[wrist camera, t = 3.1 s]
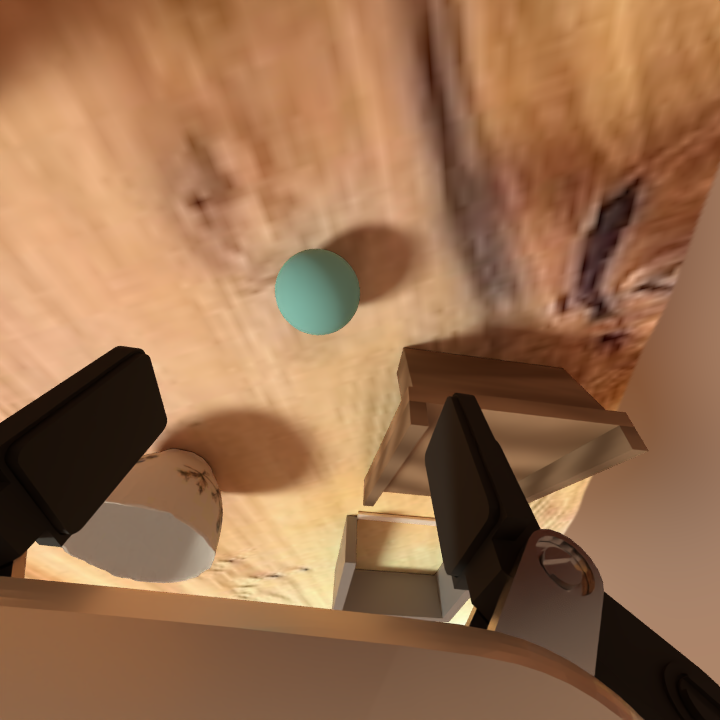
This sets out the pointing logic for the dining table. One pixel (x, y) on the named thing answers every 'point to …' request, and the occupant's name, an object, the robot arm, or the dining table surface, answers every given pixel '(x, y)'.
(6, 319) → the dining table surface
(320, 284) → the teal rubber ball
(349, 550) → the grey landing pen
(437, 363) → the walnut ramp
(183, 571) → the teacup
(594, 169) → the dining table surface
